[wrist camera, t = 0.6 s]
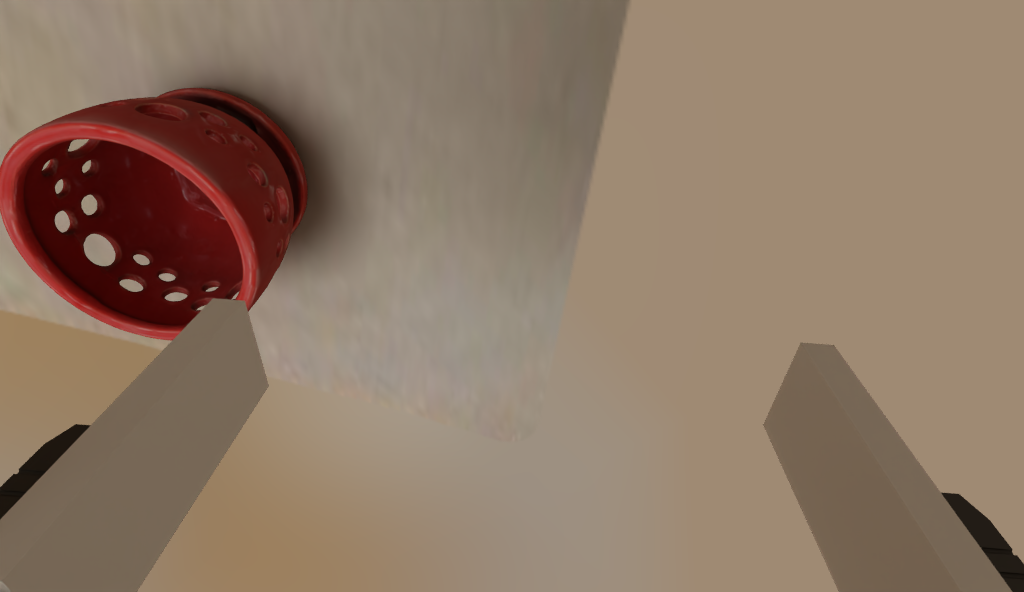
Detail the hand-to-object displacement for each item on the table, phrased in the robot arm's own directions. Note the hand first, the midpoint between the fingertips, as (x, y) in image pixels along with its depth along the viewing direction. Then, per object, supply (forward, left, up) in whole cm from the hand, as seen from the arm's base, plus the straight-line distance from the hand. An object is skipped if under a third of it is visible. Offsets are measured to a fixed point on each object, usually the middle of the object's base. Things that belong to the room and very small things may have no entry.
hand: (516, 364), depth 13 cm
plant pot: (+6, -21, -26) cm, 33 cm away
